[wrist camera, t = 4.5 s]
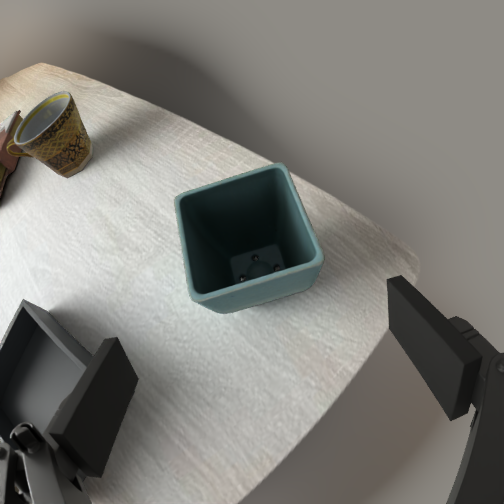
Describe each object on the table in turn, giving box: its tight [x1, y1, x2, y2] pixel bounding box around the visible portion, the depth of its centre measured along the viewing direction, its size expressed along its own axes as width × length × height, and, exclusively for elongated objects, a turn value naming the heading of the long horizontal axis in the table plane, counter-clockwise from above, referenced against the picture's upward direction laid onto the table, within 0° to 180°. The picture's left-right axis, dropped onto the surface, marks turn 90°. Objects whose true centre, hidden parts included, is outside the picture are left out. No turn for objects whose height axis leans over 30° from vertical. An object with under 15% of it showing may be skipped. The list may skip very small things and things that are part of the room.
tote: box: [0, 299, 135, 482], centre depth 25 cm, size 15×15×4 cm
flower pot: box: [174, 163, 325, 314], centre depth 25 cm, size 9×9×9 cm
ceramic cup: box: [7, 91, 93, 178], centre depth 37 cm, size 13×10×10 cm
